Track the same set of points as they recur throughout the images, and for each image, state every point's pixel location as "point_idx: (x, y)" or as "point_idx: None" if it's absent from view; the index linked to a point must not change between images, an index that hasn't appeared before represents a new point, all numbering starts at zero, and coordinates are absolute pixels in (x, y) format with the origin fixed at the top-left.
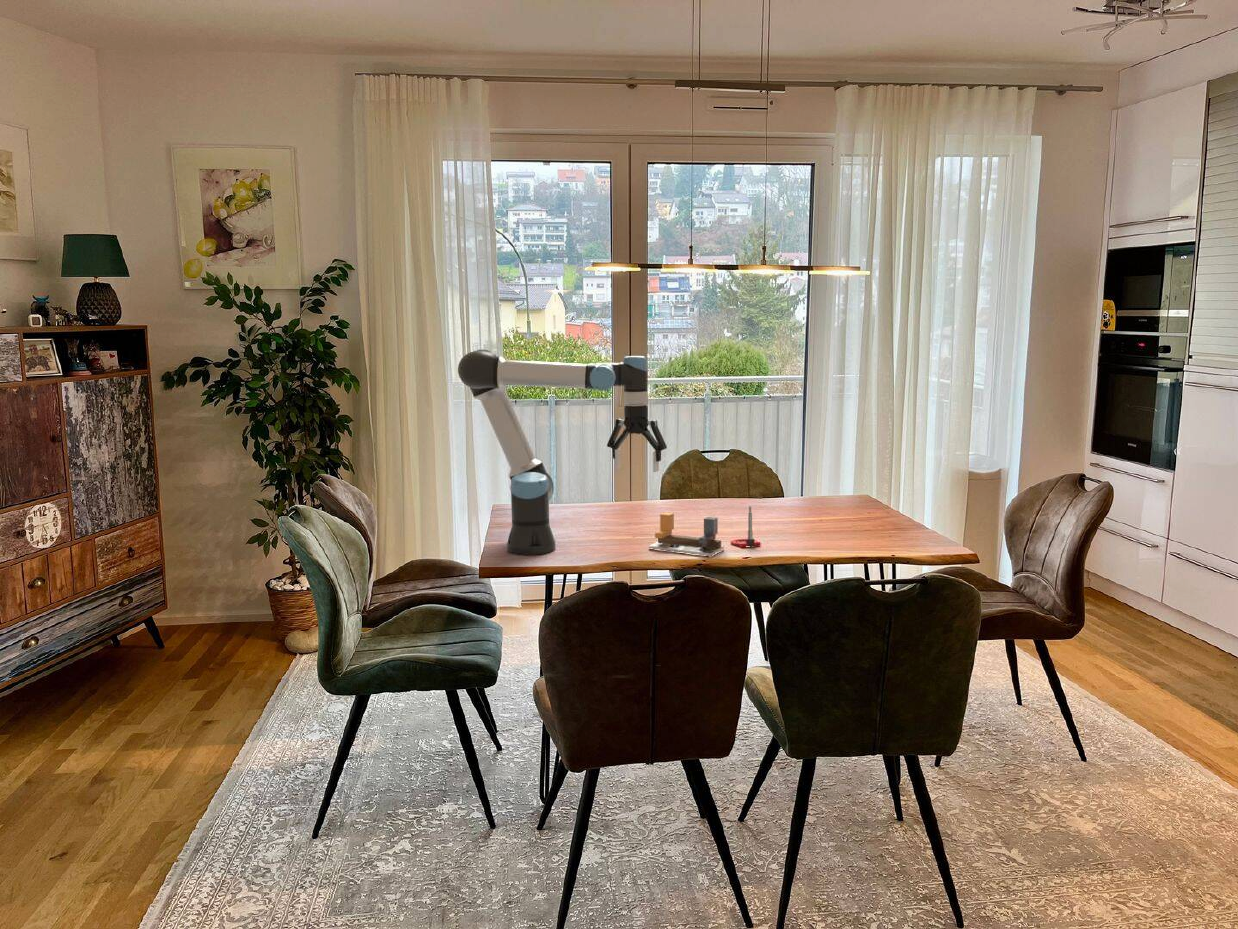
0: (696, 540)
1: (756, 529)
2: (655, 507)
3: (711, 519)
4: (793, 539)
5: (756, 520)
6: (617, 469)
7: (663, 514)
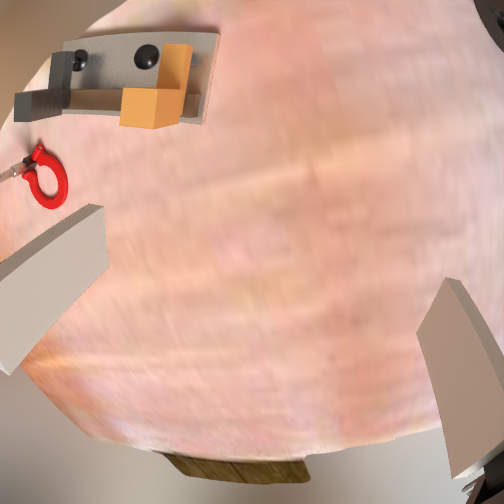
0: (92, 89)
1: (79, 299)
2: (317, 428)
3: (18, 93)
4: (15, 238)
5: (111, 357)
6: (443, 281)
7: (145, 90)
